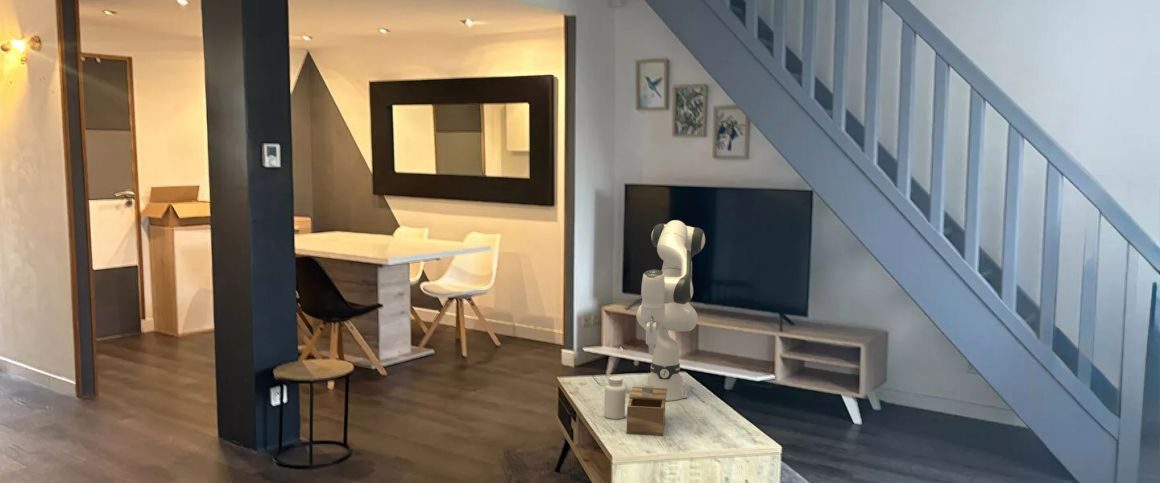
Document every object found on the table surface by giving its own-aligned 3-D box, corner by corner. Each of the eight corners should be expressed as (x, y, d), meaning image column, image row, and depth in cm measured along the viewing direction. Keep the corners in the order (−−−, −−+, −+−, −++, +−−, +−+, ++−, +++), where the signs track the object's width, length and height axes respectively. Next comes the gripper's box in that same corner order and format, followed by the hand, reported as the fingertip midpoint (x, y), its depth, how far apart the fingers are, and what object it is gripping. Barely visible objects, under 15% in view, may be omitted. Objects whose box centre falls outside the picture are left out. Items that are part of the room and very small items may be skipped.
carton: (630, 422, 342) (630, 396, 341) (664, 424, 340) (665, 397, 339) (626, 433, 328) (627, 406, 327) (662, 435, 326) (663, 408, 325)
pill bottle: (623, 420, 344) (624, 381, 342) (602, 418, 346) (603, 380, 344) (626, 414, 352) (627, 376, 350) (605, 412, 353) (606, 374, 352)
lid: (632, 388, 351) (632, 377, 351) (667, 390, 349) (667, 379, 349) (629, 398, 337) (629, 387, 336) (665, 400, 335) (665, 389, 334)
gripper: (659, 320, 325) (659, 358, 327) (663, 309, 345) (662, 344, 347) (642, 320, 326) (641, 357, 328) (646, 308, 346) (645, 344, 348)
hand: (652, 350), depth 338 cm, fingers open, 8 cm apart
